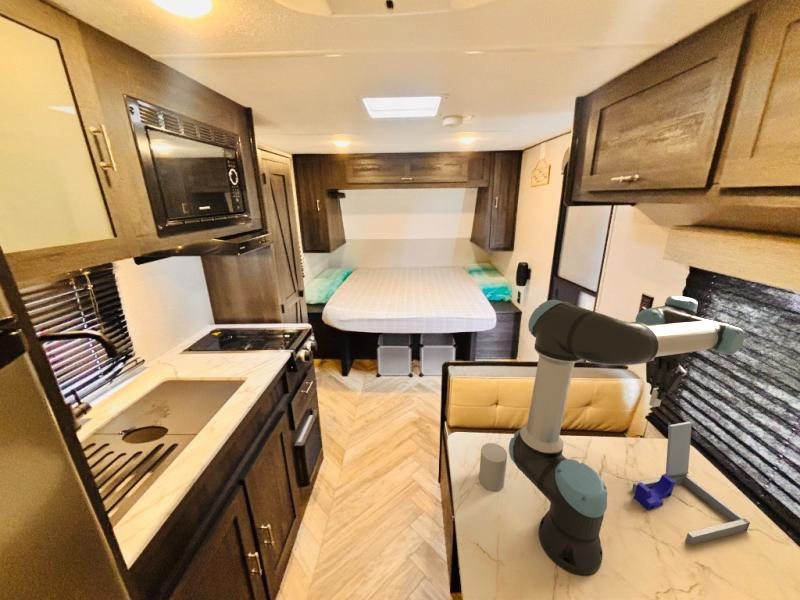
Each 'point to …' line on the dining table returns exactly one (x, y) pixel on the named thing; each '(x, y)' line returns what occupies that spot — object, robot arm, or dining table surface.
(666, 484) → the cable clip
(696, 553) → the dining table surface
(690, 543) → the gray u-shaped frame
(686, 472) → the cover
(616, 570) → the dining table surface
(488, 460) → the gray solid cylinder
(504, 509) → the dining table surface
